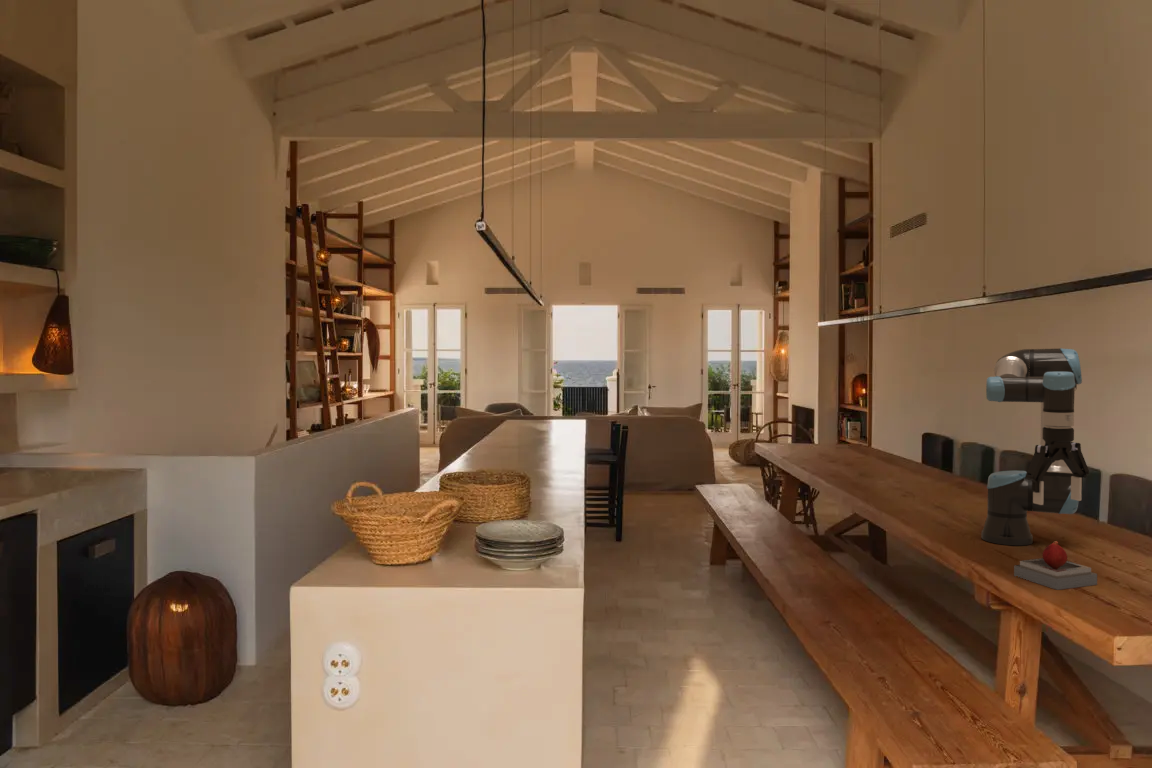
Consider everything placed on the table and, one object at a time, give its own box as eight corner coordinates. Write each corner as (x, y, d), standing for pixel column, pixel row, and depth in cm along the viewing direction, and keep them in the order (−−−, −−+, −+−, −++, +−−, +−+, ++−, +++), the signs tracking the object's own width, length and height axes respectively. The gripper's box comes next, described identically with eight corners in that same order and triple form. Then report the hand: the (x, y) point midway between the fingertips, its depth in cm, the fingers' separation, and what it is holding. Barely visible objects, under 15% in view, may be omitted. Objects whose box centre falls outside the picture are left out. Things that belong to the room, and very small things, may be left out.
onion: (1044, 571, 218) (1045, 542, 218) (1040, 565, 223) (1041, 537, 223) (1069, 573, 216) (1069, 544, 216) (1064, 567, 221) (1064, 539, 221)
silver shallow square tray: (1014, 575, 224) (1014, 560, 224) (1052, 571, 228) (1052, 555, 228) (1057, 589, 211) (1057, 573, 211) (1097, 584, 215) (1097, 568, 215)
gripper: (1034, 430, 213) (1033, 508, 214) (1104, 425, 220) (1103, 500, 222) (1011, 428, 220) (1010, 503, 222) (1080, 423, 227) (1079, 495, 229)
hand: (1057, 502), depth 222 cm, fingers open, 13 cm apart
